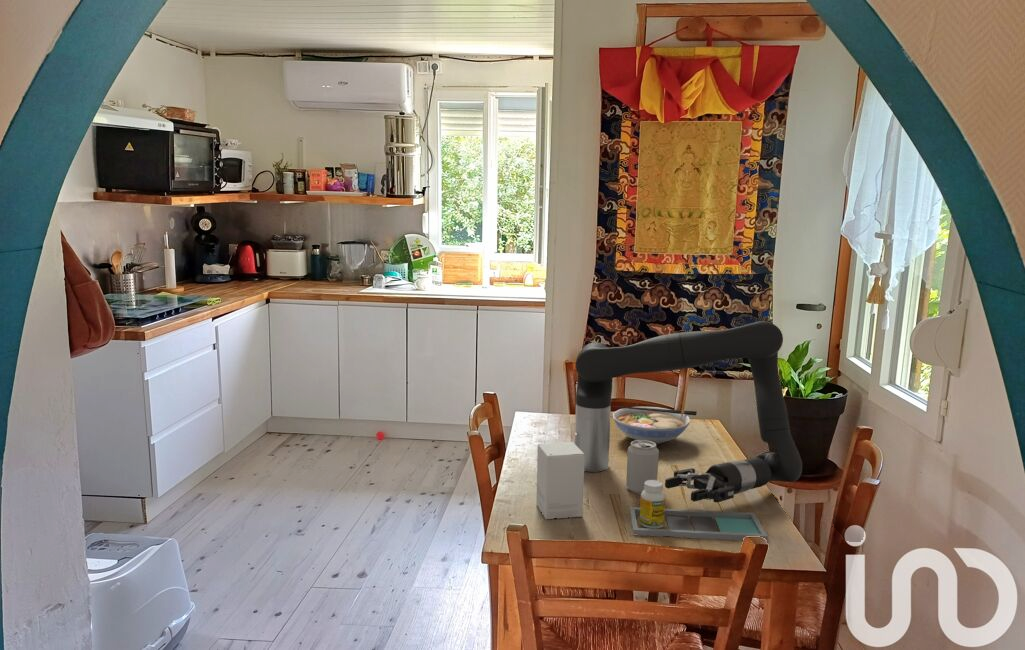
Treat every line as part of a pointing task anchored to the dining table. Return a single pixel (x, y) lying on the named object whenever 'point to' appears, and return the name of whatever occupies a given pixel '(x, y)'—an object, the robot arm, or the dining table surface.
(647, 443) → the can
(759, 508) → the dining table surface
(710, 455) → the dining table surface
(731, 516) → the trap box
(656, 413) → the ramen bowl
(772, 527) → the dining table surface
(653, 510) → the supplement bottle
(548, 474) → the supplement box
